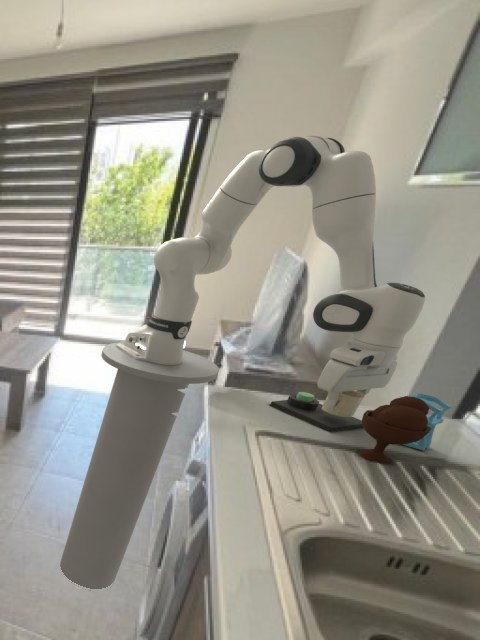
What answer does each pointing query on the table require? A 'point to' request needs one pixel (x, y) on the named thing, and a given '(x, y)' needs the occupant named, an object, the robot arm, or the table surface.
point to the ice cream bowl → (395, 425)
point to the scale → (316, 414)
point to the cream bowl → (345, 404)
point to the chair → (430, 420)
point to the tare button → (305, 396)
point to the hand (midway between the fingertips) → (341, 404)
